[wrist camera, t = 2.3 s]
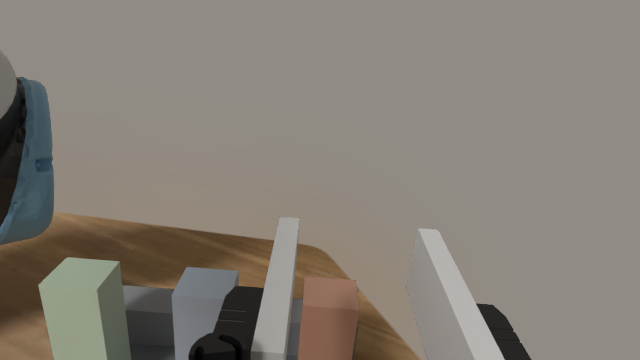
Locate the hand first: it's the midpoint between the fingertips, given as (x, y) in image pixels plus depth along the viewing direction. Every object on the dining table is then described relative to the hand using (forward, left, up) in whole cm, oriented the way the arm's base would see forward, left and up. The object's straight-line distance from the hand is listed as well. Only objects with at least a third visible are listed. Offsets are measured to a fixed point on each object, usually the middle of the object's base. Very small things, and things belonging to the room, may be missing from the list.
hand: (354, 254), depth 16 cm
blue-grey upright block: (-8, +8, -18) cm, 22 cm away
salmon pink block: (0, +8, -18) cm, 20 cm away
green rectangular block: (-16, +8, -18) cm, 26 cm away
